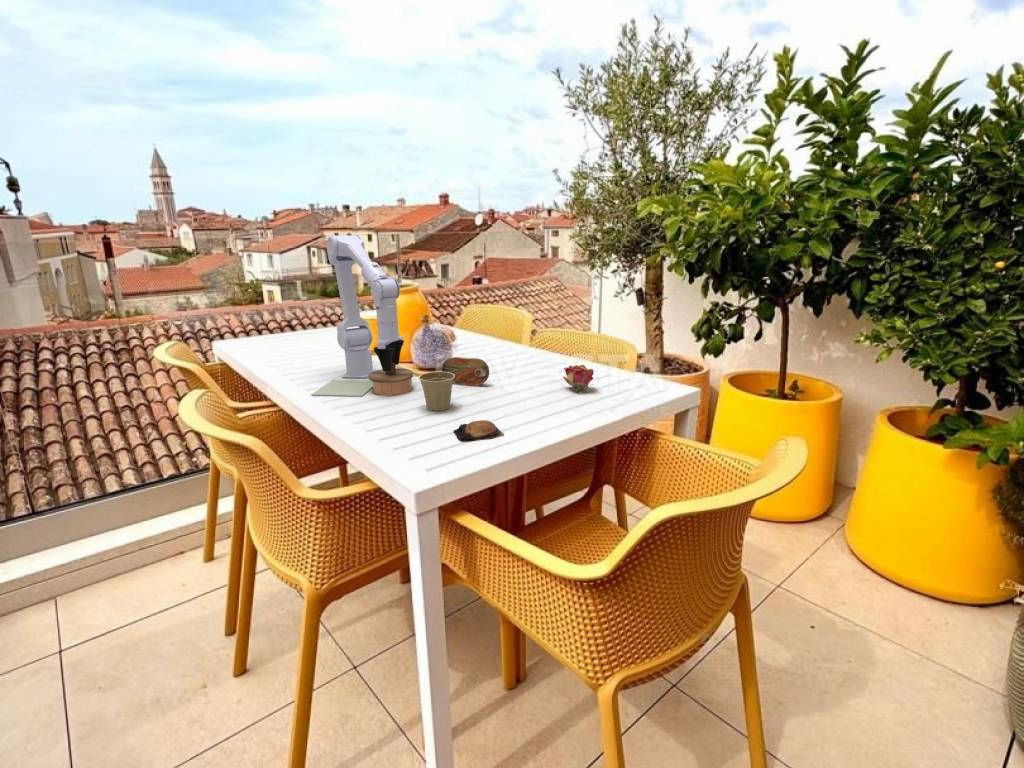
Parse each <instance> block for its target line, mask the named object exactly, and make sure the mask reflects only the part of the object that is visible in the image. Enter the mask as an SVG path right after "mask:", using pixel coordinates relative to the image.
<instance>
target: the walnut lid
mask: <svg viewBox="0 0 1024 768" xmlns="http://www.w3.org/2000/svg"><path fill="white" fill-rule="evenodd" d="M396 366H397V365H395V363H392V367H391V371H383V369H382V368H381V369H376V371H373V372H371V373H369V374H368V377H367V378H368V381H373V382H380V383H391V382H400V381H404V380H408V379H410V378H413V377H414V371H413V370H411V369H409V368H401V367H398V368H397V367H396Z"/></svg>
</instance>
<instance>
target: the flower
mask: <svg viewBox="0 0 1024 768" xmlns="http://www.w3.org/2000/svg"><path fill="white" fill-rule="evenodd" d="M563 369H564V372H565V376H562V378H563V380H564V382H566V383H567V384H568V385H569V386H571V387H572V388H574V389H575V393H576V394H578V393H579V391H580V390H582V391H584V390H587V388H589V387H590V386H592V385H594V383H592V384H590V383H591V382H592V381H593V380H594V377H593V375H594V369H593V368H587V367H586V365H584V364H581V365H578V364H576V365H571V364H570V365H569V366H568V367H567V366H566V367H563Z"/></svg>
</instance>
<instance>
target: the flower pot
mask: <svg viewBox="0 0 1024 768" xmlns="http://www.w3.org/2000/svg"><path fill="white" fill-rule="evenodd" d="M454 378H455V375H454V374H453V373H450V372H442V370H441V371H430V372H424V373H422V374H420V375H419V376H418V380H420V384H421V387H422V389H423V394H424V400H425V405H426V409H428V410H431V411H434V412H435V411H438V410H439V411H444V410H448V409H449V408H450V407H451V399H452V389H453V384H452V383H453V380H454Z"/></svg>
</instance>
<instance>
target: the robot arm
mask: <svg viewBox="0 0 1024 768" xmlns="http://www.w3.org/2000/svg"><path fill="white" fill-rule="evenodd" d="M325 247H326V253H327V258H328V261H329V264H330V265H332V266H334V271H335V278H336V282H337V283H336V284H337V287H338V288H337V289H338V292H339V298H340V299H339V300H340V304H341V308H342V315H343V319H342V321H340V322H339V324H338V325H337V326H336V331H337V335H336V339H337V343H338V346H339V347H340V348H341V349H342V350H343V351H344V356H345V357H344V359H345V368H346V373H345V374H343V375H342V378H349V379H351V378H353V379H355V378H357V379H358V378H359V379H367V378H368V374H369V373H371V372H373V371H377V369H374V367H373V357H372V355H373V354H372V351H371V349H370V346H371V345H372V344H373V341H374V337H373V336H374V335H373V332H372V330H371V327H370V324H369V322H368V321H367V320H365V319H364V318H362V317H361V314H360V308H359V303H358V298H357V297H358V296H357V292H356V286H355V281H354V280H355V279H354V276H353V271H352V267H353V266H354V265H358V266H359V268H360V269H361V271H360V274H361V276H362V277H363V280H365V282H366V283H367V285H368V286H369V287H370V294H371V297H372V300H373V306H374V307H375V310H376V320H377V334H378V336H377V340H378V341H376V342H377V343H376V344H377V346H374V347H373V351H374V353H375V354H376V356H377V358H378V360H379V362H380V365H381V366H380V367H381V369H383V371H391V367H392V363H395V366H398V365H399V364H400V359H401V351H402V348H403V346H404V343H405V340H404V336H400V331H399V321H398V320H399V319H398V318H399V317H398V305H397V303H398V302H397V299H398V298H399V296H400V294H401V287H400V284H399V282H398V280H397V279H396V278H394V277H391V276H388V275H387V273H386V272H385V270H383V268H382V267H381V266H380V265H379V263H378V262H375V261H372V259H370V257H369V255H368V253H367V251H366V250H365V248H366V247H365V241H364V240H363V237H361V235H360V234H356V235H334V234H330V235H328V237H327V240H326V244H325Z"/></svg>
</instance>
